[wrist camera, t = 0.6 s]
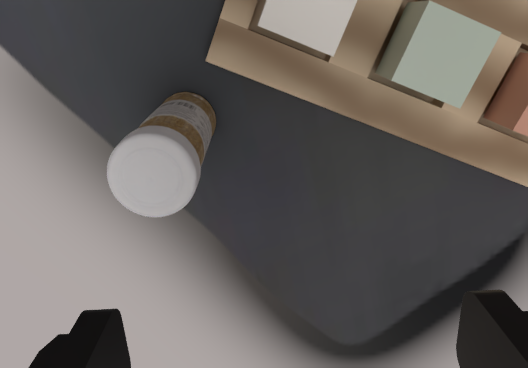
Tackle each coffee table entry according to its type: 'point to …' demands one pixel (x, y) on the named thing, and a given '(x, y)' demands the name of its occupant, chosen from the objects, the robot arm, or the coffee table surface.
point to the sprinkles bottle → (163, 157)
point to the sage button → (437, 52)
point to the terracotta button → (512, 98)
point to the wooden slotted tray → (380, 88)
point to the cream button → (308, 21)
